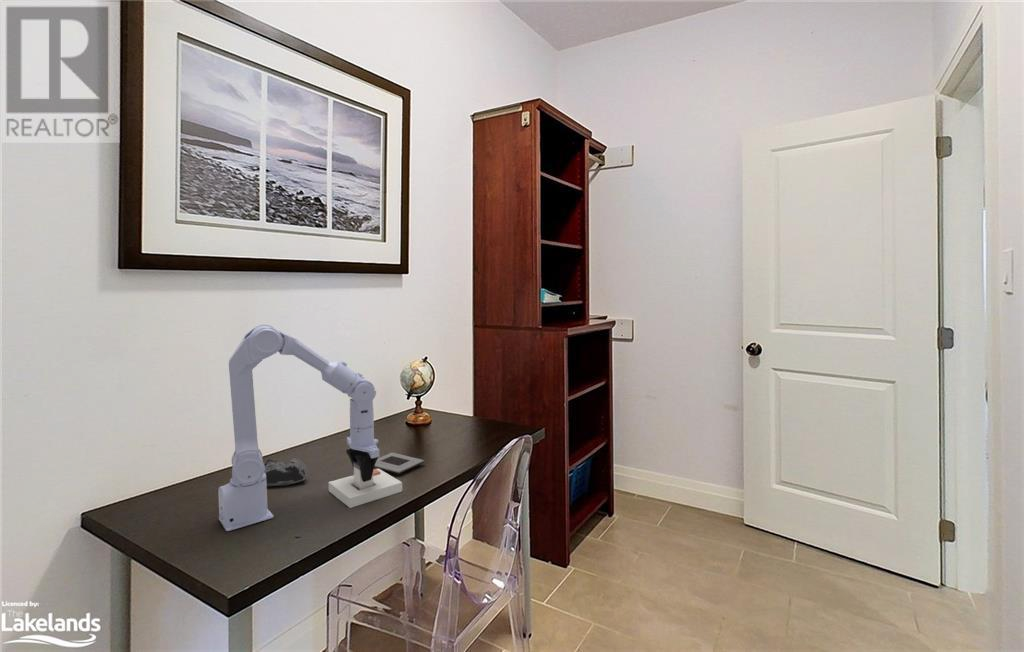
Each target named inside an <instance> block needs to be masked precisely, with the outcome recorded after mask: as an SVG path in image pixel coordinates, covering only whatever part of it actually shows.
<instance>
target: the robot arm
mask: <svg viewBox="0 0 1024 652" xmlns="http://www.w3.org/2000/svg"><path fill="white" fill-rule="evenodd" d="M277 353H279V354H280V355H281V356H282V355H283V356H294V357H296V358H297V359H298V360H301V361H302V362H304V363H305V364H307V365H309V366H310V367H313V368H314V369H316V370H317V371H319V372H320V374H321V379H322V381H324V382H325V383H327V384H328V385H330V386H331V387H333V388H335V389H336V390H338V391H339V392H341V393H343V394H345V395H347V396H348V398H349V430H350V433H349V434H350V436H347V437H346V445H347V446H349V449H345V450H346V451H345V453H346V455H347V456H348V458H349V460H350V462H351V466H352V469H353V471H354V466H353V462H357V461H358V463H359V466H360V471H361V478H362V481H363V482H365V481H369V480H371V478H372V474H373V470H374V469H375V468H374V466H375V463H376V461H377V459H378V458H380V456H381V455H380V449H379V448H378V447H377V444H378V443H379V439H377V438H375V428H374V426H375V424H374V423H375V421H374V420H375V419H374V418H375V417H374V415H375V414H374V400H375V398H376V396H377V391H376V389H375V386H374V384H373V383H372V382H371V381H369V380H368V379H366V378H365V377H363V374H362V373H360V372H355V371H354V370H353V369H351V368H350V367H348V364H347V362H345V361H343V360H342V361H339V360H336V359H335V360H332V361H329V360H327V359H325V358H324V357H323V356H322V355H320V354H319V353H318V352H315V350H313V349H312V348H310V347H309V346H307V345H306V344H304V343H303V342H301V341H300V340H299V339H297V338H296V337H294V336H291V335H289V334H287V333H285V332H283V331H281V330H279V331H278V330H277V329H276V328H274V327H273V326H271V325H268V324H260V325H257V326H255V327H254V328H252V329H251V330H250V331H248V332H247V333H246V334H245V335H244V336H243V338H242V340H241V341H240V343H239V344H238V346H237V347H236V349H235V351H234V352H233V353H232V355H231V356H230V358H229V360H228V371H229V372H228V373H229V384H230V397H231V412H232V422H233V423H232V424H233V436H234V452H233V454H232V457H231V465H232V470H231V476H232V477H231V478H230V479H229V482H228V483H226V484H224V485H221V486H219V487H218V513H219V514H218V516H219V517H218V520H219V521H220V523H221V525H222V527H223V528H224V530H225V532H232V531H234V530H237V529H240V528H243V527H247V526H250V525H254V524H256V523H257V524H258V523H260V522H263V521H267V520H270V519H273V518H274V514H273V513H272V512H271V511H270V509H268V495H267V494H268V489H267V488H268V486H267V483H266V474H265V473H264V471H265V465H264V464H265V462H263V461H264V460H263V453H262V452H261V451H262V450H260V448H259V444H258V443H259V442H258V431H257V430H258V429H257V415H256V405H255V404H256V403H255V402H256V401H255V390H254V389H255V388H254V378H253V377H254V376H253V375H254V374H253V370H254V369H255V368H256V367H257V366H258V365H259V364H260V363H261V362H262V361H263V360H265V359H267V358H270V357H271V356H274V355H276V354H277Z"/></svg>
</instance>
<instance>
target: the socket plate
mask: <svg viewBox="0 0 1024 652" xmlns="http://www.w3.org/2000/svg"><path fill="white" fill-rule="evenodd" d="M328 492H329V493H331V494H332V495H333V496H334V497H336V498H337V499H338V500H339V501H341V502H342V503H343V504H344V505H345V506H347V507H348V508H349V509H351V508H354V507H358V506H360V505H363V504H368V503H370V502H373V501H376V500H380V499H383V498H386V497H389V496H393V495H395V494H398V493H401V492H403V482H402V481H401V480H399V479H398V478H395V477H394V476H392V475H390V474H389V473H387V472H385V470H382V469H378V468H374V470H373V486H371V487H367V488H364V489H359V488H357V487H356V486H354V474H353V475H349V476H346V477H342V478H338V479H336V480H331V481H328Z"/></svg>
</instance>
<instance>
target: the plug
mask: <svg viewBox="0 0 1024 652" xmlns="http://www.w3.org/2000/svg"><path fill="white" fill-rule="evenodd" d="M353 466H354V470H353V475H354V486H356V487H357V488H359V489H364V488H367V487H371V486H373V474H372V478H371V480H369V481H365V482H363V481H362V478H361V471H360V466H359V463H358V461H357V462H353ZM353 466H352V467H353Z"/></svg>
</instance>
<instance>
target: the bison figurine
mask: <svg viewBox="0 0 1024 652" xmlns="http://www.w3.org/2000/svg"><path fill="white" fill-rule="evenodd" d="M264 465H265V471H264V473H265V474H266V483H267V487H277V486H278V487H279V486H289V485H293V484H297V483H300V482H302V481H304V480H307V479H308V467H307V465H306V464H305V463H304V462H303V461H302V460H301V459H299V458H292V459H290V460H289V462H288V464H285V463H284V462H283V461H280V462H278V460H273V459H270V458H268V459H267V460H266V462H264Z"/></svg>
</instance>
